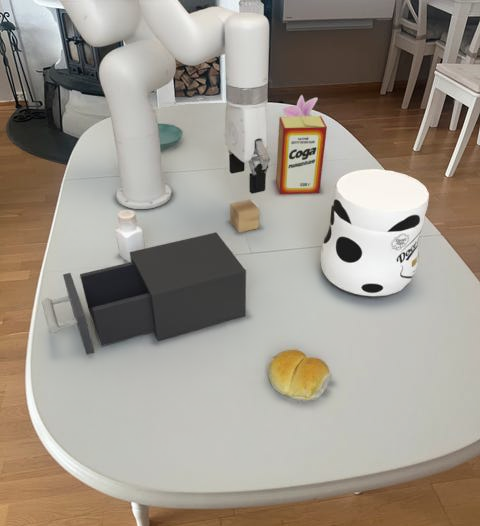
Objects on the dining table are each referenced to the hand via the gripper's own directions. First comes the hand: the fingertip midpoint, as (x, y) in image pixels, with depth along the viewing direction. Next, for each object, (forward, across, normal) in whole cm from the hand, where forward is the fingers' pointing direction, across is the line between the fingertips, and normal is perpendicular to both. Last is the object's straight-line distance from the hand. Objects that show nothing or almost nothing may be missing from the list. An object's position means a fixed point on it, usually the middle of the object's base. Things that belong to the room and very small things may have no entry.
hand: (246, 181), depth 105 cm
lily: (+10, -42, +36) cm, 56 cm away
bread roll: (+11, +44, -11) cm, 46 cm away
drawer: (+9, +21, -34) cm, 41 cm away
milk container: (+11, +26, +13) cm, 30 cm away
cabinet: (+10, +20, -20) cm, 31 cm away
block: (+10, 0, 0) cm, 10 cm away
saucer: (+10, -50, -4) cm, 52 cm away
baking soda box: (+10, -12, +19) cm, 24 cm away
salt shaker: (+10, +2, -25) cm, 27 cm away
